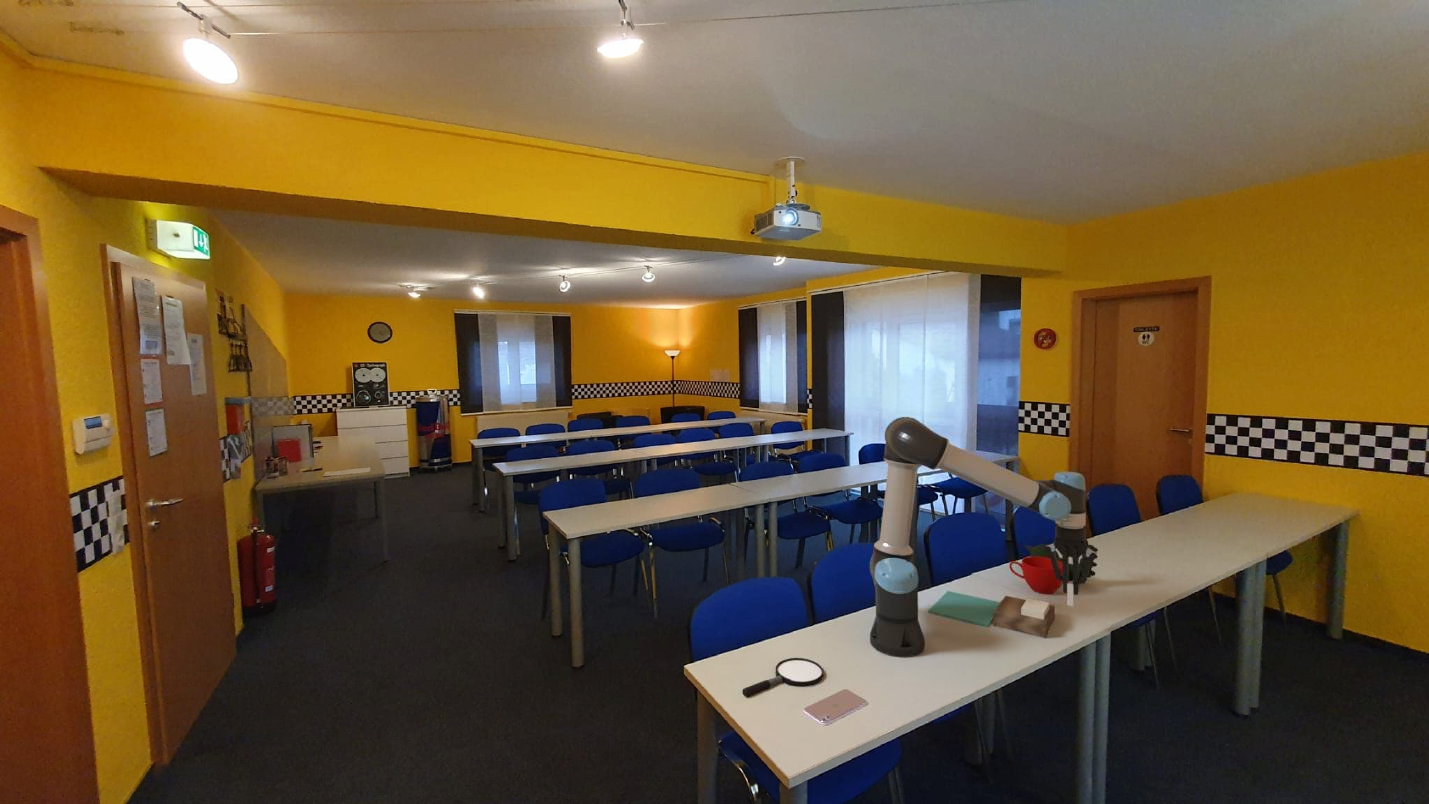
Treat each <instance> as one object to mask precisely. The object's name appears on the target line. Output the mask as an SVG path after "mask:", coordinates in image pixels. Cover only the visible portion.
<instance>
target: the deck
mask: <svg viewBox="0 0 1429 804" xmlns="http://www.w3.org/2000/svg"><path fill="white" fill-rule="evenodd" d="M1026 600H1027V599H1023V598H1018V597H1014V596H1009V595H1005V596H1004V597H1003V599H1002V600H1001V601H1000V602H1001V603H1000V604H999V606H998V607H997V608H996V610H995V611H994V612H993V621H992V627H993V626H994V627H997V626H998V627H997V628H1000V629H1001V628H1002V629H1005V628H1006V630H1009V631H1010V630H1011V631H1014V632H1018V633H1022V634H1027V635H1031V636H1034V635H1035V637H1038V636H1039V637H1038V638H1042V637H1043V639H1046V638H1047V636H1048V634H1049V632H1050V629H1051V628H1050V627H1052V625H1053V623H1054V621H1055V620H1056V606H1055V605H1053V604H1049V611H1048V612H1047V614H1046V616H1045V618H1044V620H1043V619H1039V618H1034V617H1030V616H1025V615H1021V608H1022V606H1023V604H1024V603H1025V601H1026ZM1048 631H1049V632H1048ZM1046 635H1047V636H1046Z"/></svg>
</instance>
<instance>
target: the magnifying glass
mask: <svg viewBox="0 0 1429 804" xmlns="http://www.w3.org/2000/svg"><path fill="white" fill-rule="evenodd" d="M823 677H824V669H823V667H822V666H821V665H820V664H819V663H817V662H816V661H814V660H811V659H810V658H809V659H808V658H803V657H790V658H789V657H788V658H786V659H783V660H781V661H779V662H778V663H777V664H776V666H775V677H773V678H769V679H765V680H762V681H760V682H757V683H754V684H751V685H748V686H747V687H744V688H743V689H742V692H741V693H742V695H743V696H744V697H745V698H749V697H752V696H754V695H757V694H759V693H762V692H764V691H767V690H769V689H770V688H773V687H775V686H777V685H780V684H785V685H787V686H791V687H797V688H798V687H799V688H804V687H811V686H815V685H817V684H819V683H820V682H821V681H822V680H823V679H824V678H823ZM772 686H773V687H772Z"/></svg>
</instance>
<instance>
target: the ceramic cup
mask: <svg viewBox="0 0 1429 804" xmlns="http://www.w3.org/2000/svg"><path fill="white" fill-rule="evenodd" d="M1013 564H1015V565H1018V566H1019V567H1020V569H1021V571H1022V574H1019V572H1016V571H1015V570H1014V568H1013ZM1058 564H1059V568H1060V571H1061V575H1063V563H1062V562H1060V561H1058ZM1009 570H1010V571H1011V573H1013V574H1014V575H1015V576H1017V577H1019V578H1021V579H1023V580H1025V583H1026V584H1027V585H1028V586H1029V588H1030V589H1031V590H1032V591H1033V592H1035V593H1037V594H1043V595H1052V594H1054V593H1055V592H1056V591H1057V590H1058V589H1059V588H1060V587H1061V585H1063V582H1062V581H1061V580H1058V579H1056V577H1055V573H1054V570H1053V566H1052V563H1051V559H1050V558H1045V557H1030V556H1026V557H1023V558H1022V559H1021V563H1020V562H1018V561H1016V560H1015V561H1011V562H1009Z"/></svg>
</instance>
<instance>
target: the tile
mask: <svg viewBox="0 0 1429 804" xmlns="http://www.w3.org/2000/svg"><path fill="white" fill-rule="evenodd" d="M1025 600H1026V601H1025V603H1024V604H1023V606H1022V608H1021V615H1025V616H1030V617H1034V618H1039V619H1043V620H1044V618H1045V616H1046V614H1047V612H1048V611H1049V605H1050V602H1048V601H1043V600H1039V599H1034V598H1033V599H1032V598H1026V599H1025Z"/></svg>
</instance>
